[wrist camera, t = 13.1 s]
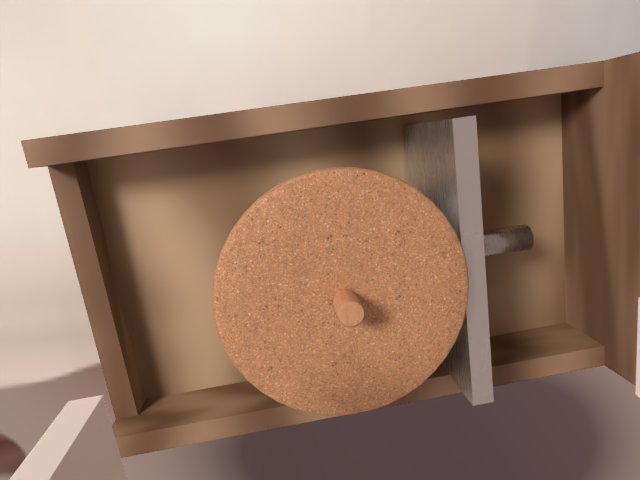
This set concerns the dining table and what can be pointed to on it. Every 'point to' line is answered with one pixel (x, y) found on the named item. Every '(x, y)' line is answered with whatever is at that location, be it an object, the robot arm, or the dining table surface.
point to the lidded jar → (340, 290)
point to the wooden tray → (368, 153)
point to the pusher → (463, 236)
